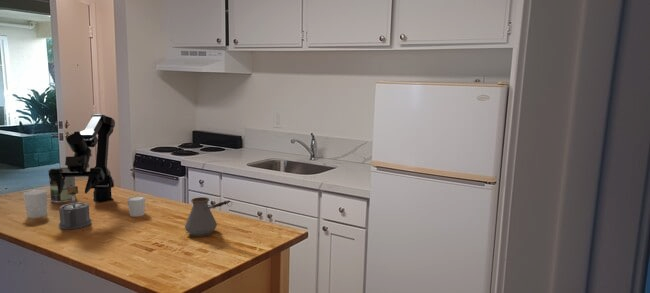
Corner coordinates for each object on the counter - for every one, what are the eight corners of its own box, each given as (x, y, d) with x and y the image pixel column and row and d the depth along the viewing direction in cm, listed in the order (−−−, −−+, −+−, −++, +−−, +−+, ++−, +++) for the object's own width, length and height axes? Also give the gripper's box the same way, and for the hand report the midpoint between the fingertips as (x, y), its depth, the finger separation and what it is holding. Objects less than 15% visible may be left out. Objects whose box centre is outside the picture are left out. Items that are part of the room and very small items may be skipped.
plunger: (68, 205, 172) (66, 185, 171) (86, 205, 173) (85, 184, 172) (60, 211, 166) (59, 189, 164) (80, 210, 167) (78, 189, 165)
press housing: (65, 220, 175) (64, 202, 174) (95, 219, 177) (94, 201, 176) (51, 231, 162) (50, 212, 161) (84, 230, 164) (82, 211, 163)
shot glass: (124, 215, 182) (123, 199, 181) (137, 211, 189) (136, 195, 187) (137, 217, 180) (136, 201, 179) (149, 213, 186) (149, 197, 185)
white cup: (52, 214, 182) (50, 191, 181) (33, 220, 175) (31, 195, 174) (40, 211, 186) (38, 188, 184) (21, 217, 178) (19, 193, 177)
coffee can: (47, 203, 198) (45, 172, 195) (54, 197, 207) (51, 168, 205) (73, 201, 201) (71, 171, 198) (78, 195, 210) (76, 167, 208)
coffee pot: (178, 234, 163) (176, 194, 160) (202, 225, 172) (201, 188, 170) (219, 247, 151) (218, 204, 149) (242, 237, 160) (242, 197, 158)
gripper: (48, 148, 169) (37, 182, 160) (100, 147, 172) (92, 181, 163) (58, 164, 178) (48, 198, 169) (107, 163, 181) (100, 196, 172)
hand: (72, 193), depth 168 cm, fingers open, 9 cm apart
